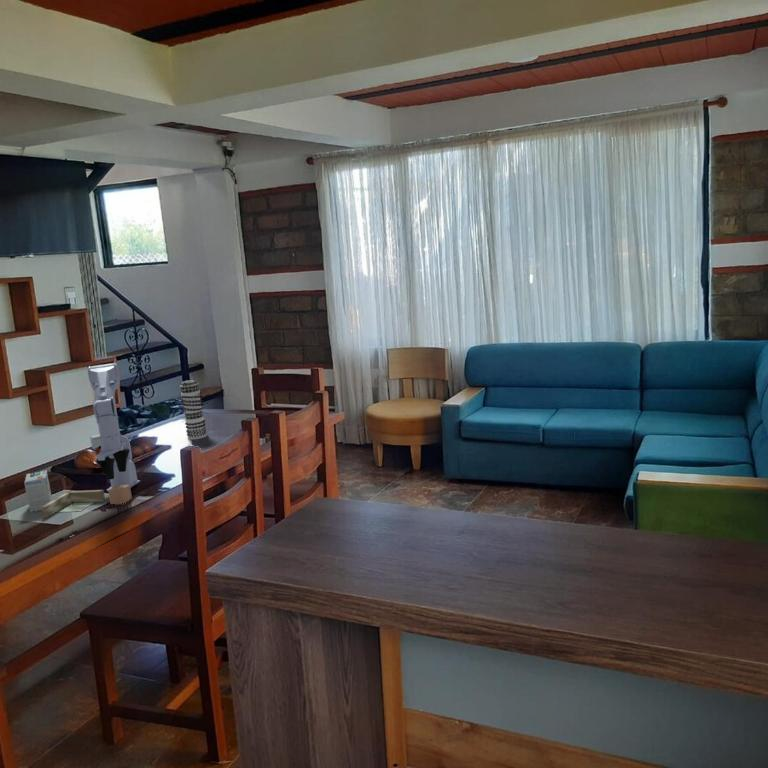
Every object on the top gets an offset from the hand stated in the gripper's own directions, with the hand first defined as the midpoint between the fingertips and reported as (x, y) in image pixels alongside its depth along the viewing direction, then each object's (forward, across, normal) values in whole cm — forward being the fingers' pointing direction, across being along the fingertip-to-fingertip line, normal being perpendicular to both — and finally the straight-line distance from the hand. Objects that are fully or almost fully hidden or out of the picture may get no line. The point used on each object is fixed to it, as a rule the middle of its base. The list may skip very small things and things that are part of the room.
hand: (116, 475), depth 246 cm
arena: (+9, -4, +14) cm, 17 cm away
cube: (+9, 0, 0) cm, 9 cm away
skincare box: (+9, +45, +33) cm, 57 cm away
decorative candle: (+9, +81, +9) cm, 82 cm away
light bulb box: (+9, -1, +29) cm, 30 cm away
